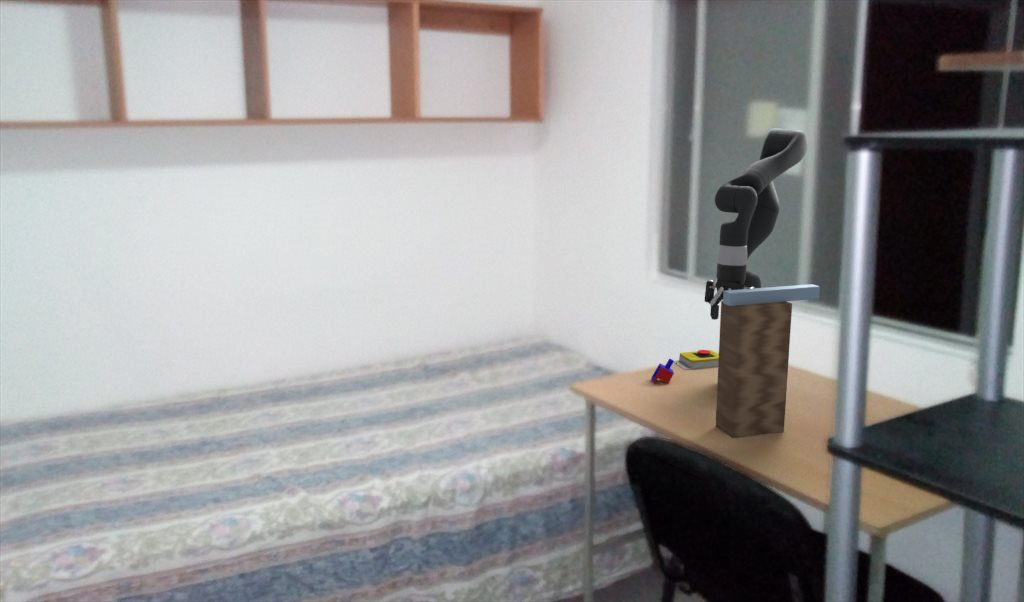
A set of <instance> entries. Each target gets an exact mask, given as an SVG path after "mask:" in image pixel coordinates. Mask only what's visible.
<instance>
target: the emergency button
mask: <svg viewBox="0 0 1024 602" xmlns="http://www.w3.org/2000/svg"><path fill="white" fill-rule="evenodd" d="M678 358H679V359H678V360H674V362H673V363H674V365H677V366H678V367H680V368H682V369H683V370H685V369H686V371H687V370H688V369H691V370H698V369H700V368H701V369H711V368H718V361H719V352H717V351H716V352H715V351H714V350H712V349H699V350H697V351H686V352H685V351H684V352H679V356H678ZM676 363H679V364H676ZM710 367H711V368H710ZM688 371H689V370H688Z"/></svg>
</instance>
